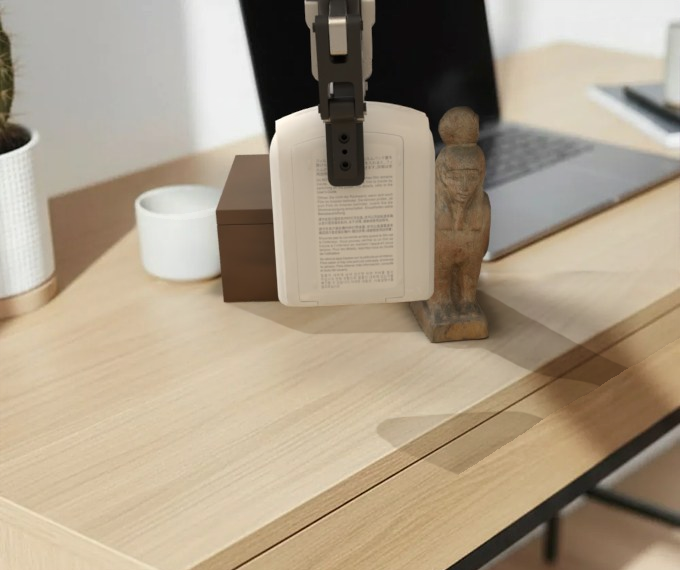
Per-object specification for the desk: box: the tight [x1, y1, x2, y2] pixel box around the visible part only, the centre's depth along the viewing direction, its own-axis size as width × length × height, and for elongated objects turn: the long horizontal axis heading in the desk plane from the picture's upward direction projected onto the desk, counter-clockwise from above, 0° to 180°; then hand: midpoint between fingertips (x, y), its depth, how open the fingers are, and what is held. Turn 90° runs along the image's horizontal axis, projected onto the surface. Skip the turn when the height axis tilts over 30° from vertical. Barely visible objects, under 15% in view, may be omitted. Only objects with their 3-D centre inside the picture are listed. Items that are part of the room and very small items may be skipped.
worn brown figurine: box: [409, 105, 492, 343], centre depth 88 cm, size 12×6×18 cm, turn 2°
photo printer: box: [269, 100, 436, 308], centre depth 75 cm, size 10×4×12 cm, turn 93°
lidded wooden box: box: [215, 153, 280, 303], centre depth 100 cm, size 11×15×8 cm
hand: (347, 170), depth 74 cm, fingers closed on photo printer, 4 cm apart
